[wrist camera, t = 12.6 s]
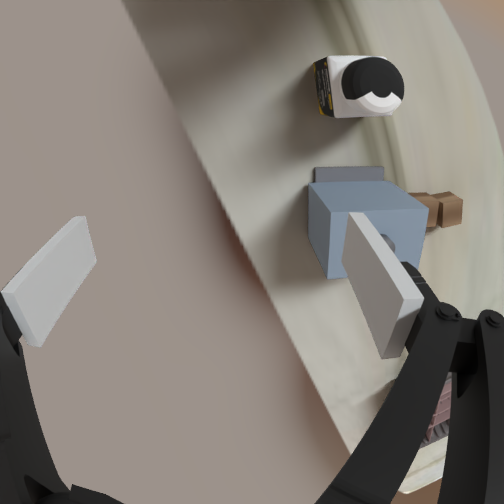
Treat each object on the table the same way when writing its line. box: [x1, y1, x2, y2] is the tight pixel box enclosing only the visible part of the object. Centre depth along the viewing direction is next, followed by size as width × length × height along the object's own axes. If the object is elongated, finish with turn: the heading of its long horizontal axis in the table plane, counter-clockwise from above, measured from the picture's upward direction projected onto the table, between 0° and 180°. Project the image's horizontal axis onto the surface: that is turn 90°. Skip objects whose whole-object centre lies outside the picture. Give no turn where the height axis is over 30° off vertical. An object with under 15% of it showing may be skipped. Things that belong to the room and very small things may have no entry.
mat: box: [315, 167, 384, 183], centre depth 43 cm, size 12×10×1 cm
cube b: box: [431, 192, 463, 228], centre depth 41 cm, size 4×4×4 cm
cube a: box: [408, 193, 439, 227], centre depth 41 cm, size 4×4×4 cm
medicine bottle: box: [313, 56, 404, 118], centre depth 30 cm, size 7×7×12 cm
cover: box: [308, 181, 429, 279], centre depth 37 cm, size 8×12×13 cm, turn 94°
